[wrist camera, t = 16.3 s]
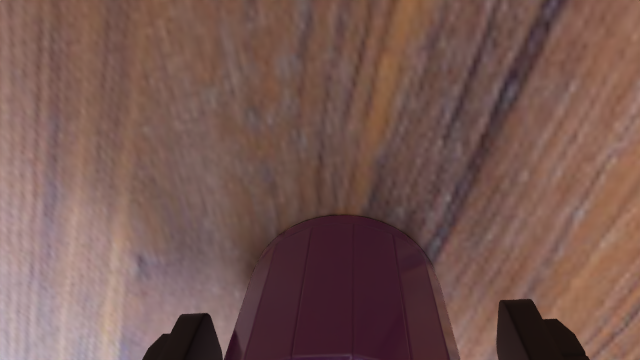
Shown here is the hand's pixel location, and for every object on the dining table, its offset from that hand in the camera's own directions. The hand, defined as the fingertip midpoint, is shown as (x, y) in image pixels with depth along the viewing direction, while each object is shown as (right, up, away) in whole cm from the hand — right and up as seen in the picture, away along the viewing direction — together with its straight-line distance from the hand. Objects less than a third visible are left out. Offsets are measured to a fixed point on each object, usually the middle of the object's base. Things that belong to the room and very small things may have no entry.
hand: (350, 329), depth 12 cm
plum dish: (0, +1, +2) cm, 2 cm away
